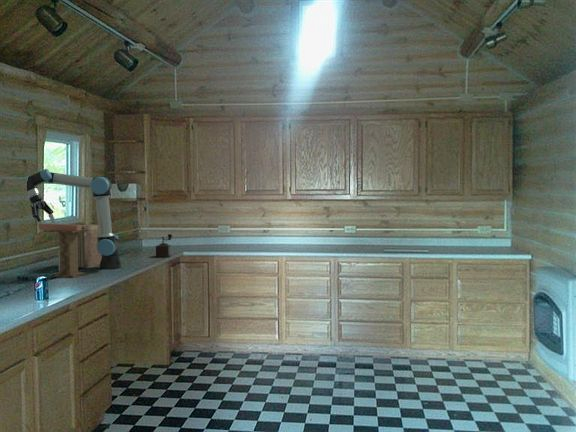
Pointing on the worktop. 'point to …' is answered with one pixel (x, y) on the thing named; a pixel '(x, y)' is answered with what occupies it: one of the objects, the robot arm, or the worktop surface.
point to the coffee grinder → (164, 248)
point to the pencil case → (60, 227)
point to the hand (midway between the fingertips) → (48, 224)
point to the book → (88, 246)
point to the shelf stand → (68, 254)
